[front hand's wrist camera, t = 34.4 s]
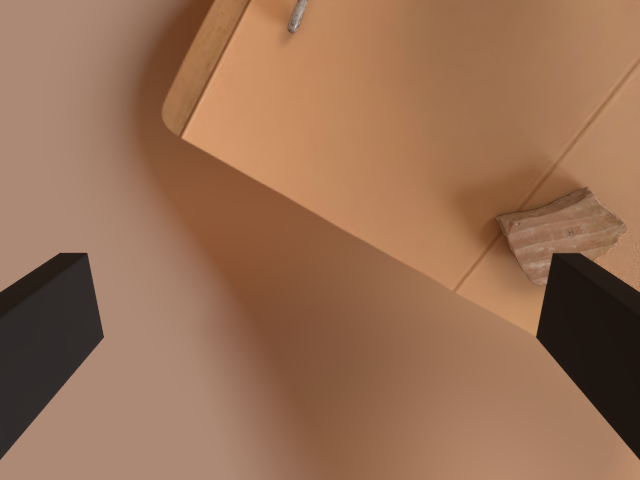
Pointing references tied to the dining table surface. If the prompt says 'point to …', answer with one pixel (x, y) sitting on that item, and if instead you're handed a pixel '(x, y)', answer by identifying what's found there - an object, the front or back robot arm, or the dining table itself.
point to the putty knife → (297, 16)
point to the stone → (560, 232)
